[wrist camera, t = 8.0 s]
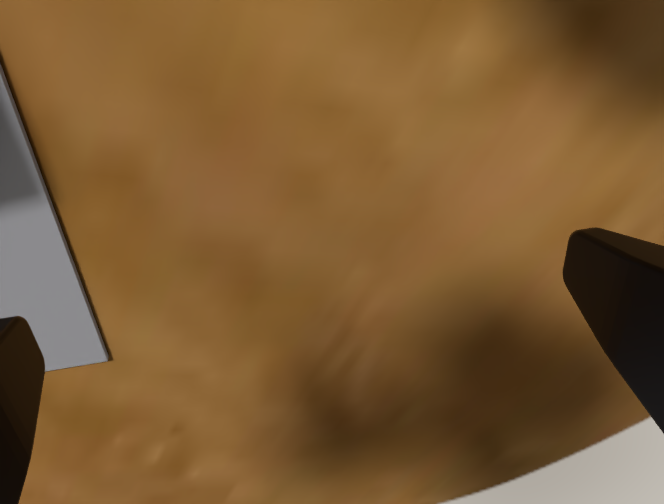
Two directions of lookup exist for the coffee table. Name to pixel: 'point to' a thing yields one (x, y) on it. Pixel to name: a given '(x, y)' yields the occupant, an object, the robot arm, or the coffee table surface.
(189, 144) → the coffee table surface
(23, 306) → the mat
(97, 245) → the coffee table surface
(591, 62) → the coffee table surface
